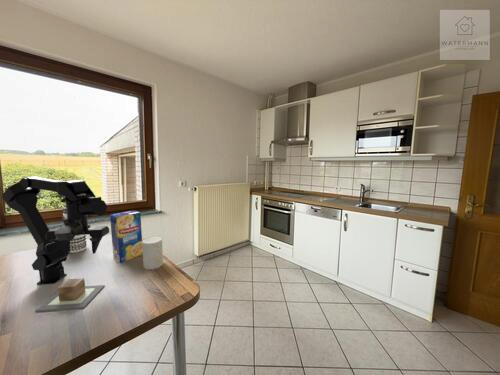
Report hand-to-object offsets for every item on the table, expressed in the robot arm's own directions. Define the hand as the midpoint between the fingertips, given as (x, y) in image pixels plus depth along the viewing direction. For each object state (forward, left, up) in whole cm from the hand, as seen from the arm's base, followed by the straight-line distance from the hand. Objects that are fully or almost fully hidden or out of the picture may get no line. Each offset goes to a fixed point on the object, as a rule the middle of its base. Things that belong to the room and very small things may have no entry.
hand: (81, 254), depth 79 cm
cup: (+22, +12, -12) cm, 28 cm away
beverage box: (+7, +22, -12) cm, 26 cm away
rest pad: (+2, -9, -12) cm, 15 cm away
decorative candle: (-24, +34, -12) cm, 43 cm away
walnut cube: (+2, -9, -11) cm, 15 cm away
